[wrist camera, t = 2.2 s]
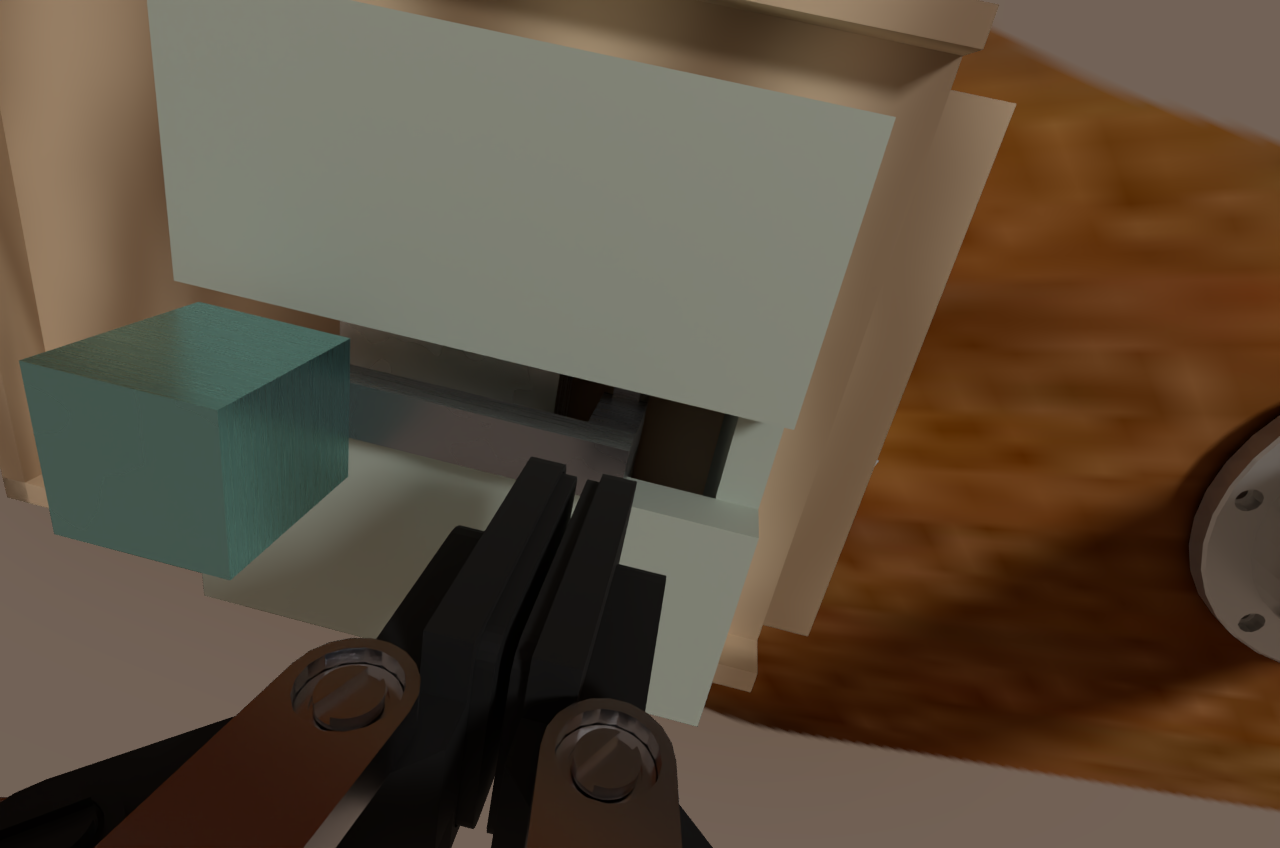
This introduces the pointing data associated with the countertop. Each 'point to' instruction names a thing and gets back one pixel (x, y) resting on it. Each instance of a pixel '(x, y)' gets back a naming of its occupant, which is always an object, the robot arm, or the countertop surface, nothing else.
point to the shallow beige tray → (672, 431)
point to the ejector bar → (260, 432)
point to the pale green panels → (513, 266)
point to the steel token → (458, 369)
